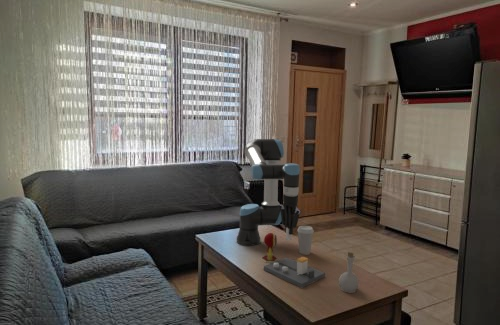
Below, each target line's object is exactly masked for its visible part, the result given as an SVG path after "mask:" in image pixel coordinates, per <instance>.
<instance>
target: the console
mask: <svg viewBox="0 0 500 325" xmlns="http://www.w3.org/2000/svg"><path fill="white" fill-rule="evenodd" d="M263 271H265V272H266V273H270V274H272V275H274V276H276V277H277V278H280V279H282V280H284V281H285V282H288V283H290V284H292V285H294V286H297V287H299V288H301V289H304V287H306V286H309V285H311V284H313V283H315V282H317V281H319V280H321V279H323V278H325V277H326V273H325V272H324V271H322V270H319V269H316V268H314V267H312V266H309V265H307V272H306V273H304V274H302V275H301V274H299V273H297V260H294V259H292V258H289V257H284V258H281V259H278V261H276V262H273V263H267V264H266V265H263Z"/></svg>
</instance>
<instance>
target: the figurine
mask: <svg viewBox="0 0 500 325" xmlns="http://www.w3.org/2000/svg"><path fill="white" fill-rule="evenodd" d="M277 240H278V238H277V235H276V234H275V233H273V232H268V233H267V234H266V235H265V236H264V237H263V243H264V244H265V245H266V247H267V248H266V255H264V256H262V257H260V261H262V262H264V263H266V264H271V263H273V262H276V261H279V258H278V257H276V256H275V255H273V254H274V249H273V248H275V247H276V246H277Z"/></svg>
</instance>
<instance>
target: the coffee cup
mask: <svg viewBox="0 0 500 325" xmlns="http://www.w3.org/2000/svg"><path fill="white" fill-rule="evenodd" d="M296 231H297V237H298V238H297V239H298V253H299V254H300V255H305V256H306V255H310V254H311V250H312V249H311V248H312V243H313V242H312V240H313V234H314V233H315V231H314V228H313V227H312V226H310V225H300V226H298V228H297V230H296Z"/></svg>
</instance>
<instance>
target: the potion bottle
mask: <svg viewBox="0 0 500 325" xmlns="http://www.w3.org/2000/svg"><path fill="white" fill-rule="evenodd" d="M354 254H355V253H353V252H350V251H348V252H347V255H345V258H346V261H347V268H346V270H347V271H345V272H343V273H342V274H341V275H340V276H339V278H338V283H339V287H340V289H341V291H342V292H344V293H346V294H347V293H349V294H352V293H356V291H357V289H358V287H359V284H360V283H359V278H358V276H357V275H356V274H355V273H354V272H353V262H354V260H355V258H356V257H355V255H354Z"/></svg>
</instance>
